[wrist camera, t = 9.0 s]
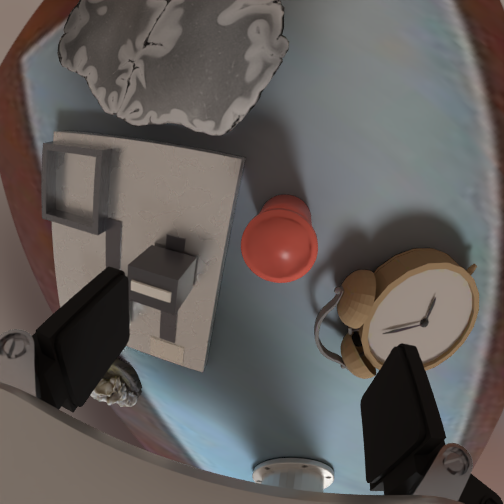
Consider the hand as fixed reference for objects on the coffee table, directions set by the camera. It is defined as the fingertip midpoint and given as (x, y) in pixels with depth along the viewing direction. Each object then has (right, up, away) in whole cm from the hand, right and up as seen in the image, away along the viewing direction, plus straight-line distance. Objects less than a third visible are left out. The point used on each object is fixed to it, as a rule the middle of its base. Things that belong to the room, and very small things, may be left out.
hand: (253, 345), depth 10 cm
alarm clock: (+13, -2, +16) cm, 20 cm away
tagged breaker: (-7, +2, +15) cm, 17 cm away
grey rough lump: (-19, -13, +26) cm, 35 cm away
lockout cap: (+3, +6, +14) cm, 15 cm away
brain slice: (-6, +21, +10) cm, 24 cm away
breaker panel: (-11, +3, +18) cm, 21 cm away
